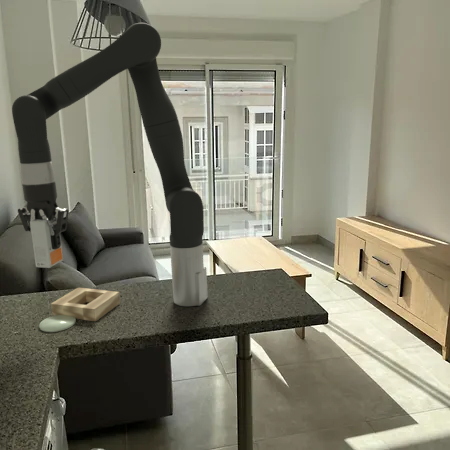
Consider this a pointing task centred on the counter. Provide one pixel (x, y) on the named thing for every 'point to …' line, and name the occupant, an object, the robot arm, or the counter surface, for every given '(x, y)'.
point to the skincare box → (44, 245)
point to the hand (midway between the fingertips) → (47, 247)
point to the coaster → (57, 323)
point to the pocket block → (94, 310)
